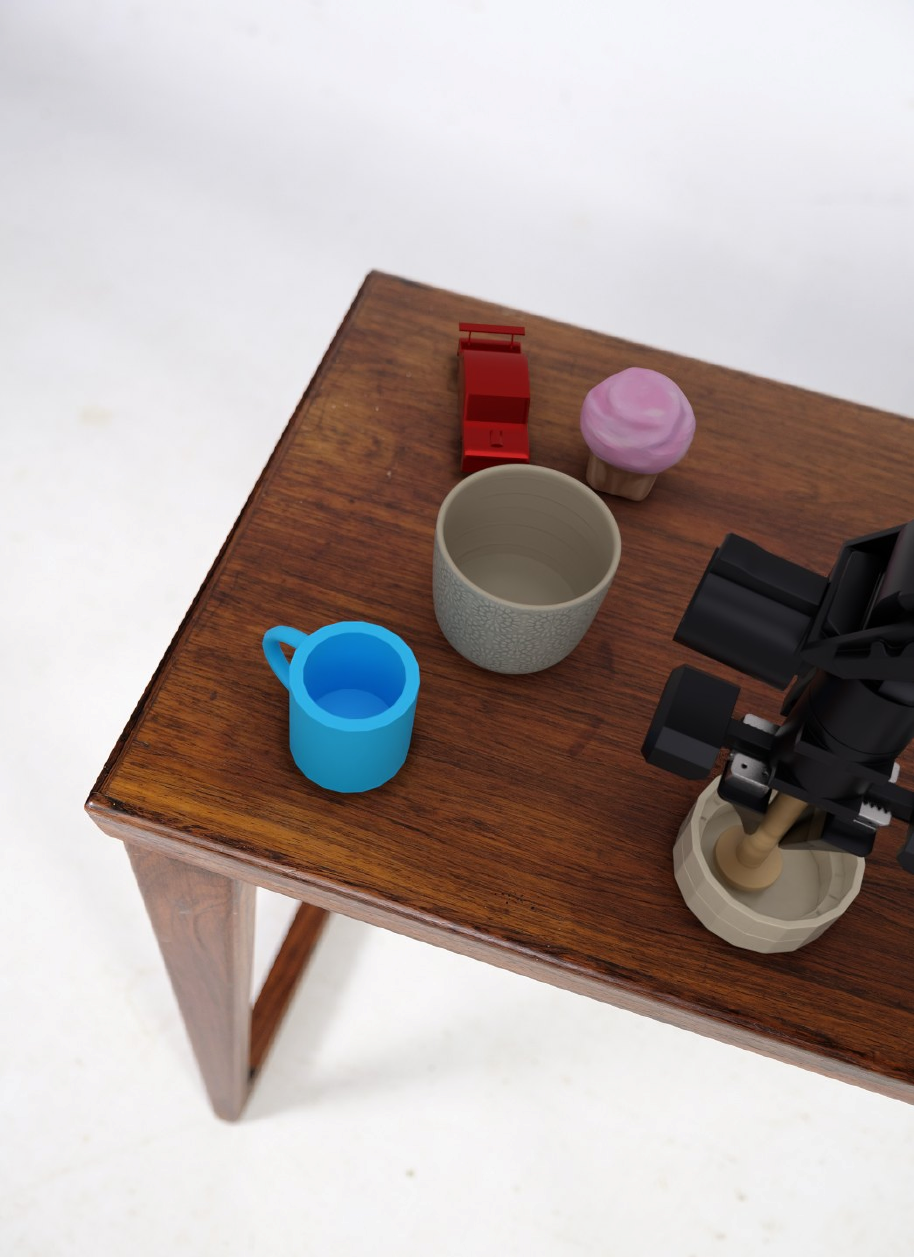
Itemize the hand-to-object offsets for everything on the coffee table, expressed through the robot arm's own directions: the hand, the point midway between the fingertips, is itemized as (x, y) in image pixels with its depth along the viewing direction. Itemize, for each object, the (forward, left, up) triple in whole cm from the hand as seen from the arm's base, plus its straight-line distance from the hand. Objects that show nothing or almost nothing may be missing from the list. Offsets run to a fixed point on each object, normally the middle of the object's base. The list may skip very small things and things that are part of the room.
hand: (765, 834), depth 74 cm
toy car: (+30, -30, -6) cm, 43 cm away
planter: (+21, -11, -6) cm, 25 cm away
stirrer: (0, 0, -4) cm, 4 cm away
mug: (+29, +2, -6) cm, 30 cm away
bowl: (-1, 0, -6) cm, 6 cm away
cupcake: (+18, -29, -6) cm, 35 cm away
